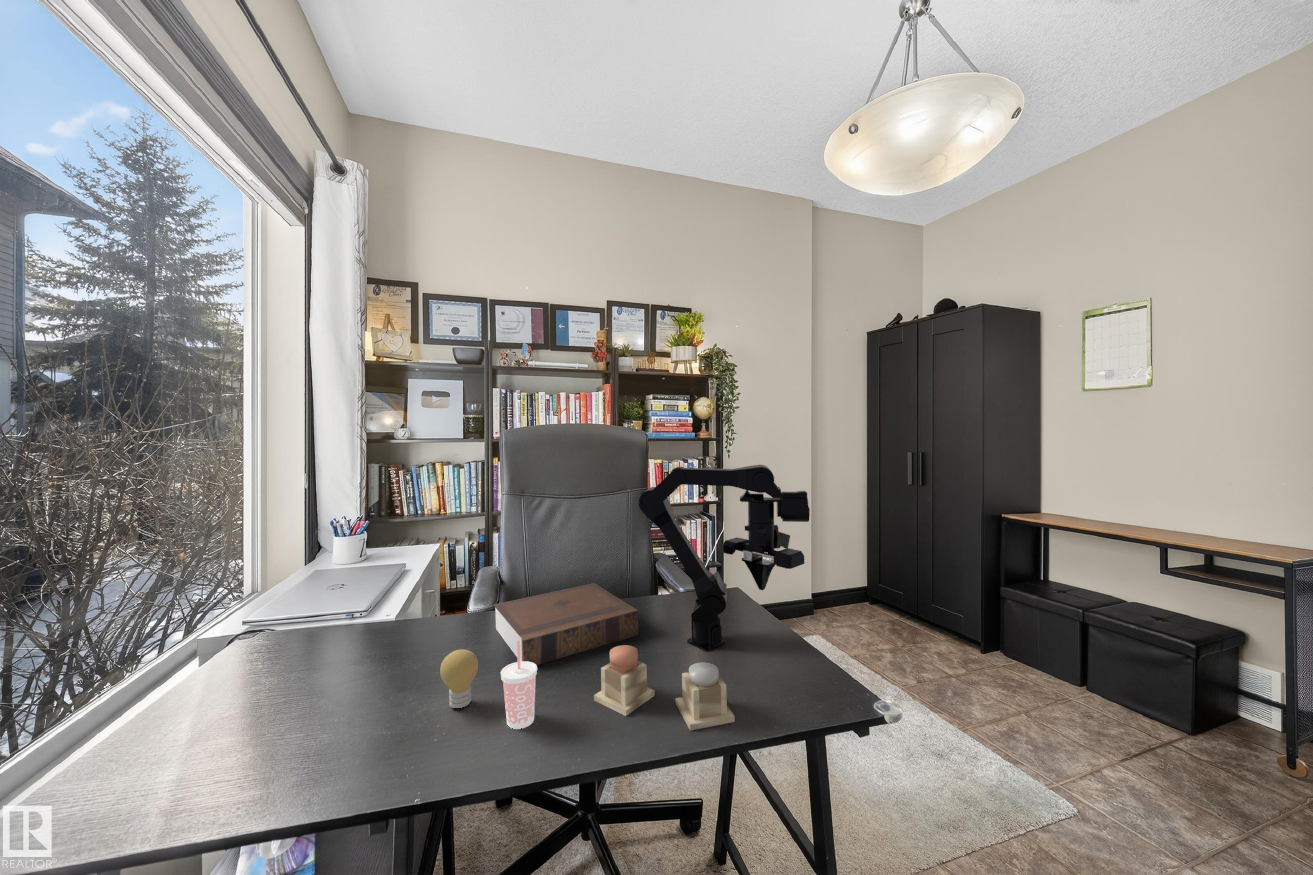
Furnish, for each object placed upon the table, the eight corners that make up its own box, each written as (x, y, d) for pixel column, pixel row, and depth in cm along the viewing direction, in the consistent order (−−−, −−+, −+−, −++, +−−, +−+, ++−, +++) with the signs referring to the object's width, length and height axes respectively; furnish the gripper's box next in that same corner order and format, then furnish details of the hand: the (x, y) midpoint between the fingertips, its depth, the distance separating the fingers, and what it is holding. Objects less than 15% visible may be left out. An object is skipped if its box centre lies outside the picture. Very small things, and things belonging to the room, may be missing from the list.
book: (638, 636, 117) (637, 610, 116) (523, 671, 101) (523, 640, 101) (594, 605, 137) (594, 582, 137) (493, 630, 122) (493, 604, 122)
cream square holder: (623, 681, 96) (622, 651, 95) (654, 695, 91) (654, 664, 90) (593, 700, 89) (593, 668, 89) (626, 716, 84) (625, 682, 84)
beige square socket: (675, 703, 88) (675, 671, 88) (716, 696, 90) (716, 664, 90) (690, 730, 80) (689, 695, 80) (734, 721, 82) (734, 687, 82)
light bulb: (486, 698, 91) (484, 646, 90) (462, 718, 84) (460, 662, 84) (458, 692, 93) (457, 641, 92) (433, 711, 87) (431, 657, 86)
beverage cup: (499, 734, 80) (496, 651, 80) (504, 712, 86) (502, 635, 86) (537, 729, 81) (534, 647, 81) (540, 708, 87) (538, 632, 87)
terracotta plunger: (623, 674, 93) (622, 642, 93) (643, 683, 90) (643, 650, 90) (604, 686, 89) (603, 653, 89) (625, 696, 86) (624, 661, 86)
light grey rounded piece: (685, 699, 87) (684, 664, 87) (712, 694, 88) (711, 660, 88) (695, 716, 82) (694, 679, 82) (723, 710, 83) (723, 674, 83)
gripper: (817, 521, 107) (818, 591, 107) (750, 511, 121) (750, 572, 121) (789, 529, 100) (790, 604, 100) (720, 517, 114) (721, 583, 114)
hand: (761, 589), depth 109 cm, fingers closed
